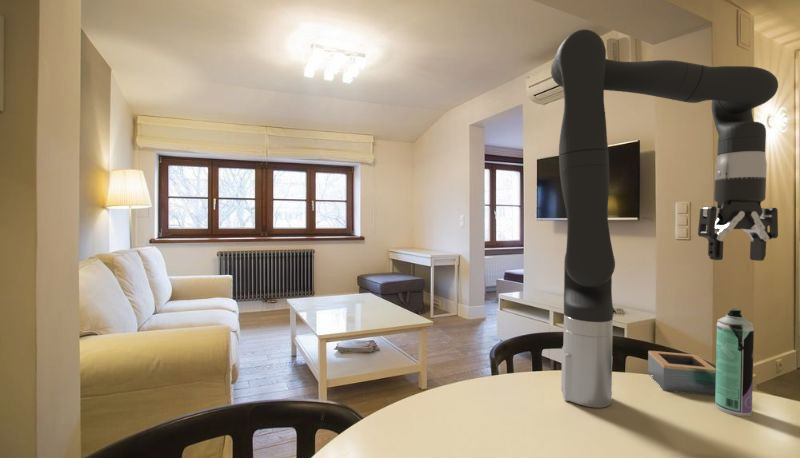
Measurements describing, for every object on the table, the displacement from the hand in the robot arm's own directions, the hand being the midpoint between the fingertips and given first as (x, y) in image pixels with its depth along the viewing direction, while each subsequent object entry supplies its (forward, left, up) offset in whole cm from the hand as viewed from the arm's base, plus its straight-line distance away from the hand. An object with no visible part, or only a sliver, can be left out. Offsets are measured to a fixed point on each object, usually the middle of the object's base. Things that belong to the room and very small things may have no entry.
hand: (736, 260), depth 75 cm
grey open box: (-5, +11, -30) cm, 32 cm away
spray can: (0, 0, -30) cm, 30 cm away
